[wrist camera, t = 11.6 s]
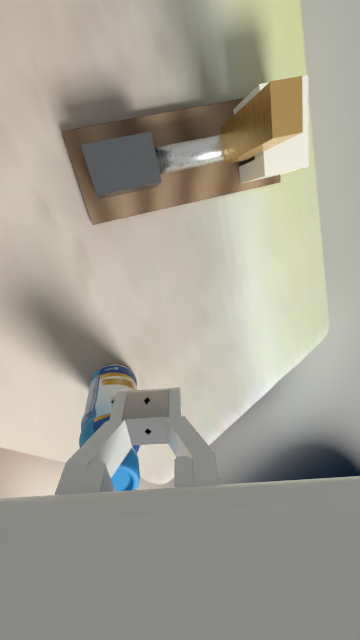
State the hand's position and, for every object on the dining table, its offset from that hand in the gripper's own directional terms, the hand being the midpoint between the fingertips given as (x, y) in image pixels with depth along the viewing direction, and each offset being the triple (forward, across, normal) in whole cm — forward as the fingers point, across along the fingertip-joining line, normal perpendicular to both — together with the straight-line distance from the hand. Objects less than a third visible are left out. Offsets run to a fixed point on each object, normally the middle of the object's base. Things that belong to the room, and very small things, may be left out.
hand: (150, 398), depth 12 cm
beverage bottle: (+26, +11, +24) cm, 37 cm away
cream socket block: (+35, -14, -11) cm, 40 cm away
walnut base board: (+34, -3, -10) cm, 35 cm away
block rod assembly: (+33, -7, -11) cm, 35 cm away
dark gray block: (+31, +5, -9) cm, 33 cm away
